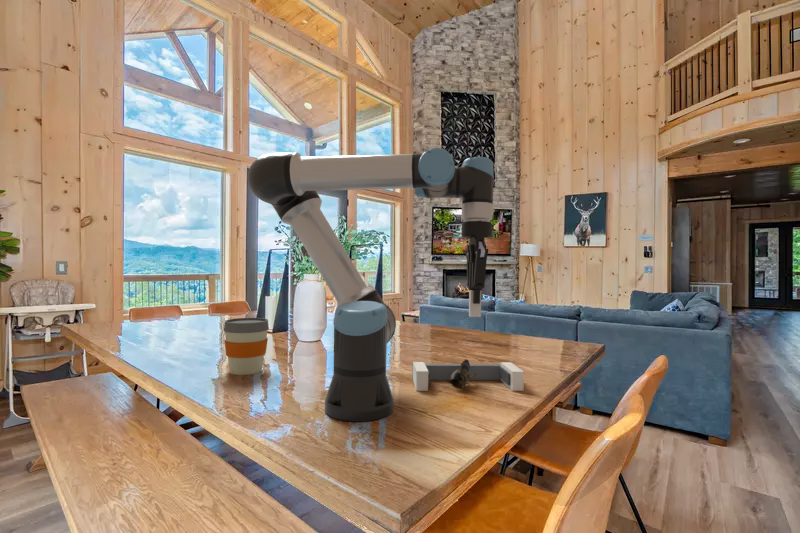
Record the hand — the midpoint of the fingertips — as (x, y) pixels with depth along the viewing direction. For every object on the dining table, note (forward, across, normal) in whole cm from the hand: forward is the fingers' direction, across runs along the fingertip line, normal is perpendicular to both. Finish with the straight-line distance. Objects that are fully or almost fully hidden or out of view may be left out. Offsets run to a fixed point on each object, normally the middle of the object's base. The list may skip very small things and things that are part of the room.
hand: (474, 316), depth 99 cm
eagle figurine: (+20, +9, +1) cm, 22 cm away
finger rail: (+20, +9, 0) cm, 22 cm away
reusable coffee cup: (+20, +23, +63) cm, 70 cm away
